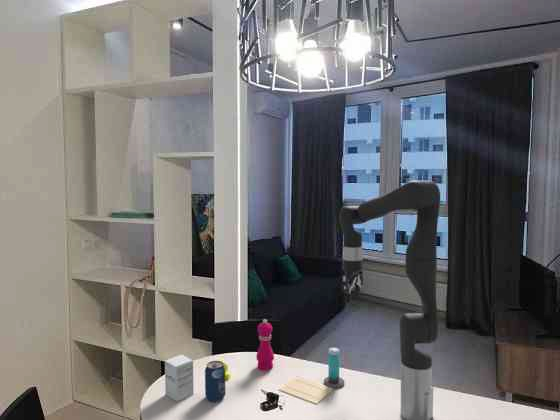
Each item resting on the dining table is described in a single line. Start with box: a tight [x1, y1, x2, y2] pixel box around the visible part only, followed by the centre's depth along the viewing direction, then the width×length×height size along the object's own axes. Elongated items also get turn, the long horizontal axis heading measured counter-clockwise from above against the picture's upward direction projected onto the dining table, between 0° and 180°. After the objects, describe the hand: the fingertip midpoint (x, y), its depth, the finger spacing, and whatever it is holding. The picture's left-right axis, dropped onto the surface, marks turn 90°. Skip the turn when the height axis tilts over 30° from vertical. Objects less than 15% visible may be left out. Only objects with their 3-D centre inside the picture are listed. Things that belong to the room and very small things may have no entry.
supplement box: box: [164, 354, 195, 403], centre depth 136 cm, size 7×7×13 cm
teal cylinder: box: [327, 347, 340, 384], centre depth 143 cm, size 4×4×12 cm
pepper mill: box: [255, 319, 275, 372], centre depth 156 cm, size 7×7×20 cm
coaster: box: [323, 376, 345, 389], centre depth 144 cm, size 8×8×1 cm
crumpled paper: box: [219, 358, 231, 381], centre depth 148 cm, size 6×8×8 cm
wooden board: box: [278, 375, 335, 405], centre depth 139 cm, size 16×12×1 cm
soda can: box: [204, 360, 226, 403], centre depth 134 cm, size 7×7×12 cm
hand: (352, 299), depth 147 cm, fingers open, 8 cm apart
